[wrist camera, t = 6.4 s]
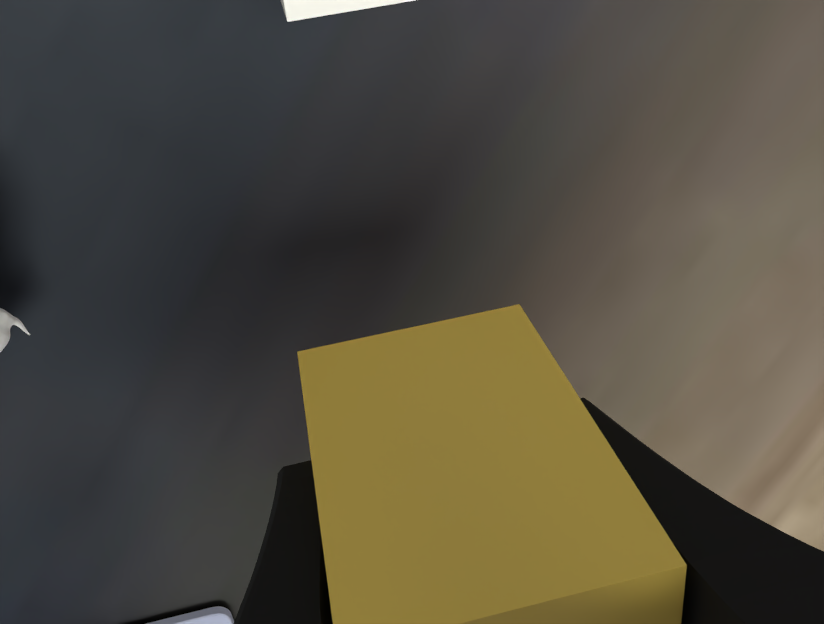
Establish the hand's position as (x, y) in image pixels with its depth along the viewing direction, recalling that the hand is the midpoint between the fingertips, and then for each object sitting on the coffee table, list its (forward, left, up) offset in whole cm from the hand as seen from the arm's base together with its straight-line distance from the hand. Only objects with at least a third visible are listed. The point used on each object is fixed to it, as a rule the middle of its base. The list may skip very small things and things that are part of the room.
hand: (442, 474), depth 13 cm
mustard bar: (0, 0, -2) cm, 2 cm away
